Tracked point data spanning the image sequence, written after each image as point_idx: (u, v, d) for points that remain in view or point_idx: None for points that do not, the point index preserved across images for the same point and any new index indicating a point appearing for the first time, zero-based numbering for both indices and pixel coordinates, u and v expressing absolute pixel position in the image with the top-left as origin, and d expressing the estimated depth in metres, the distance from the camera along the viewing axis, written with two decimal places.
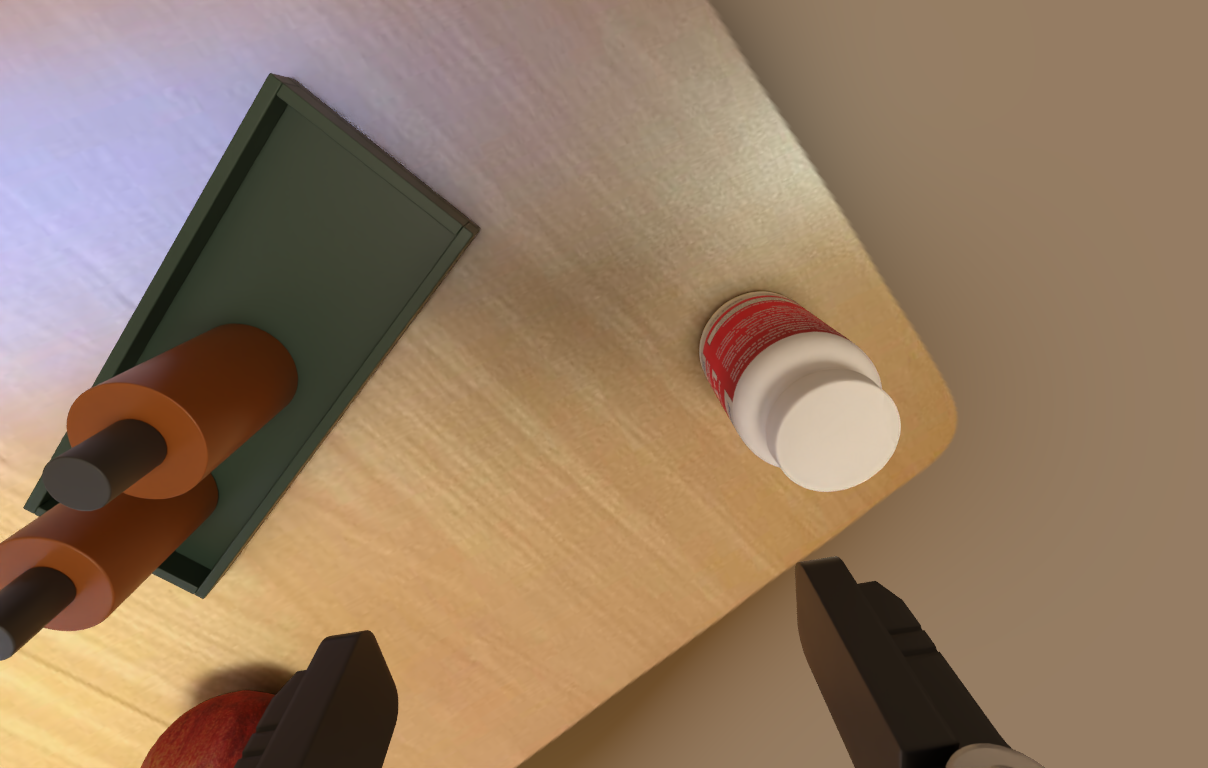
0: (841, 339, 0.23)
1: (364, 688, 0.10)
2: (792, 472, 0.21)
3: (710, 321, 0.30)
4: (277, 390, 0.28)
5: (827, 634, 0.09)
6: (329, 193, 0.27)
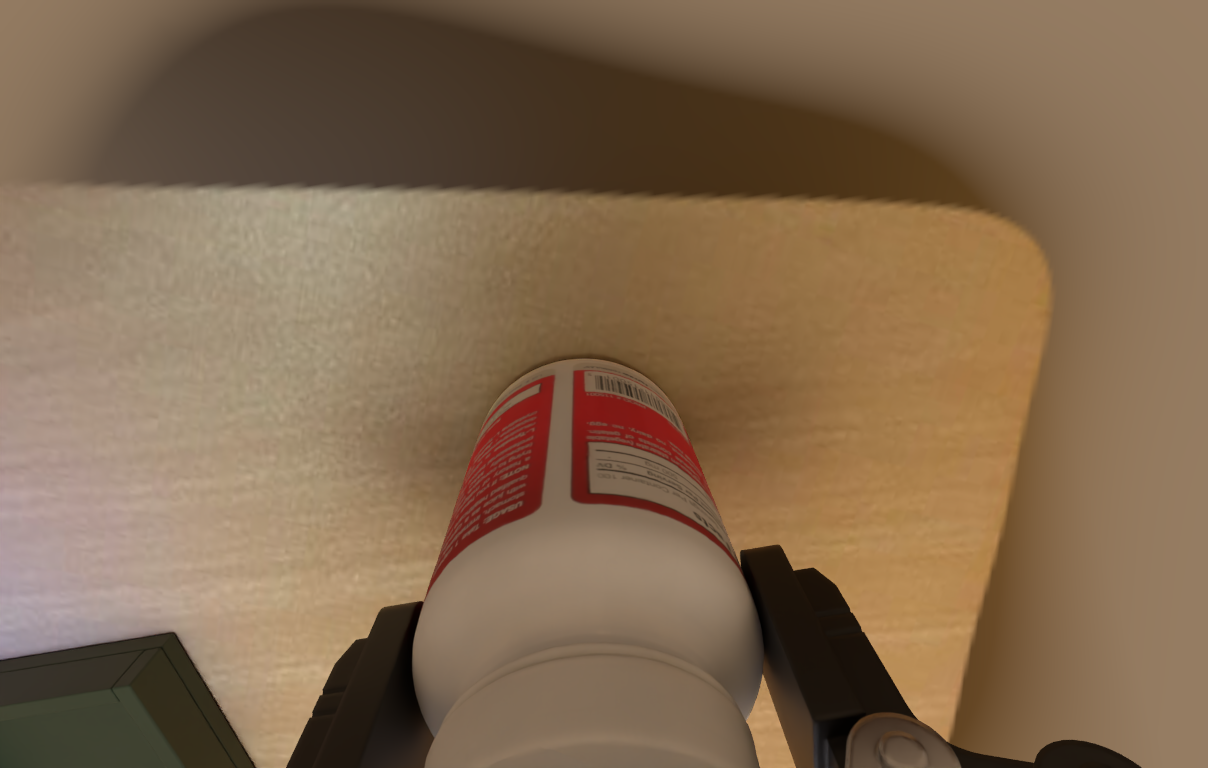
0: (487, 551, 0.09)
1: None
2: None
3: None
4: None
5: (763, 616, 0.10)
6: (28, 739, 0.20)
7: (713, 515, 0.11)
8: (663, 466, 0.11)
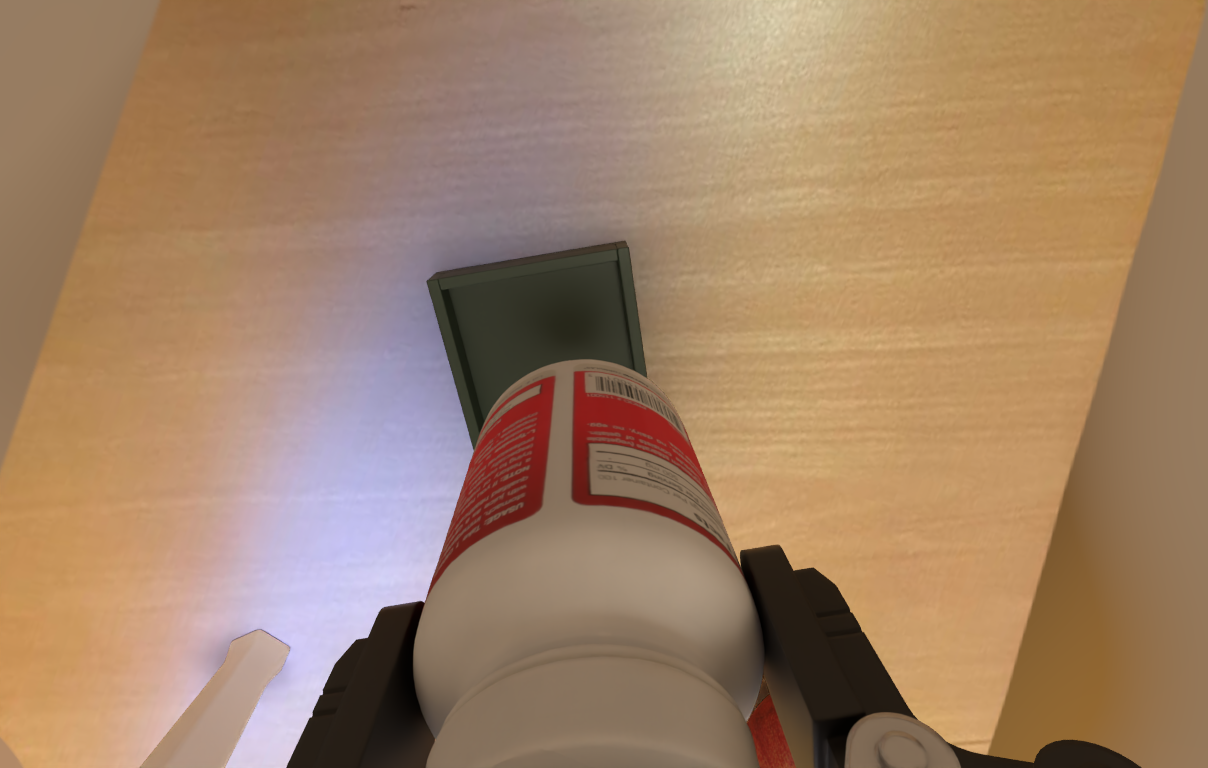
0: (488, 552, 0.09)
1: None
2: None
3: None
4: None
5: (763, 616, 0.10)
6: (518, 319, 0.31)
7: (714, 516, 0.11)
8: (663, 467, 0.11)
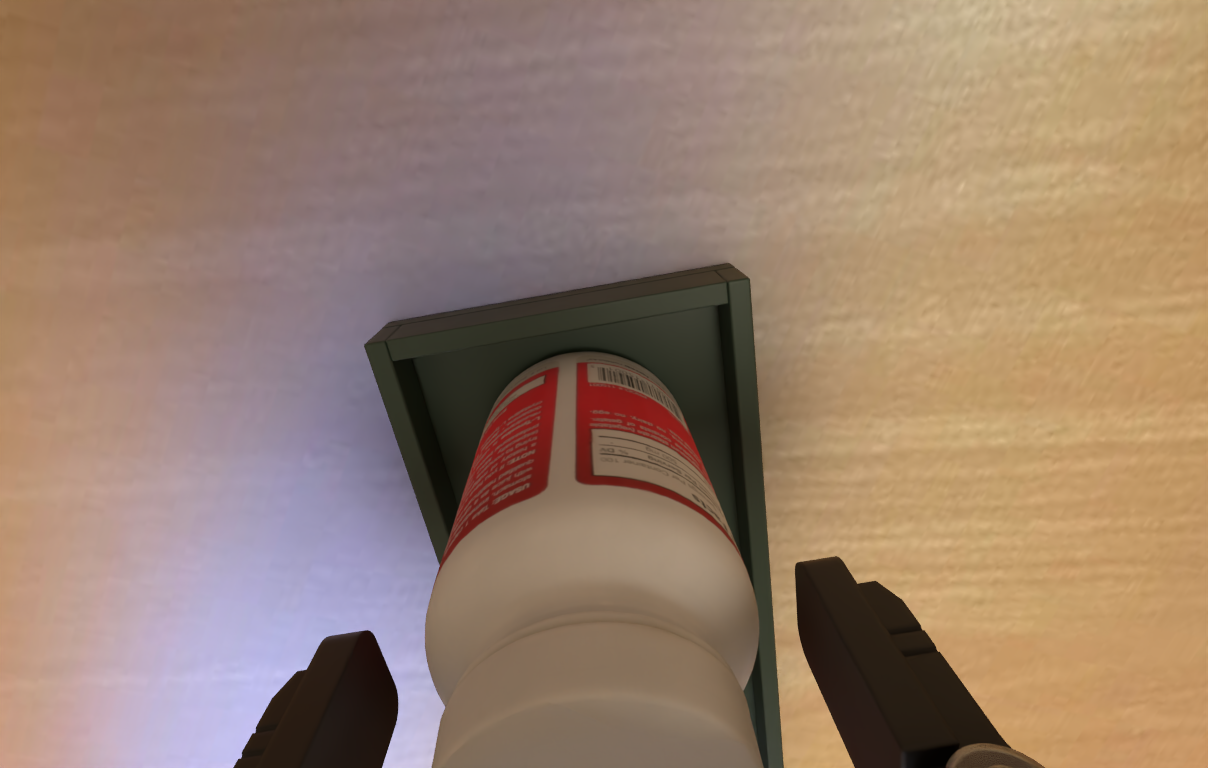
0: (496, 529, 0.09)
1: (363, 688, 0.10)
2: None
3: None
4: None
5: (827, 633, 0.09)
6: None
7: (711, 498, 0.12)
8: (663, 452, 0.12)
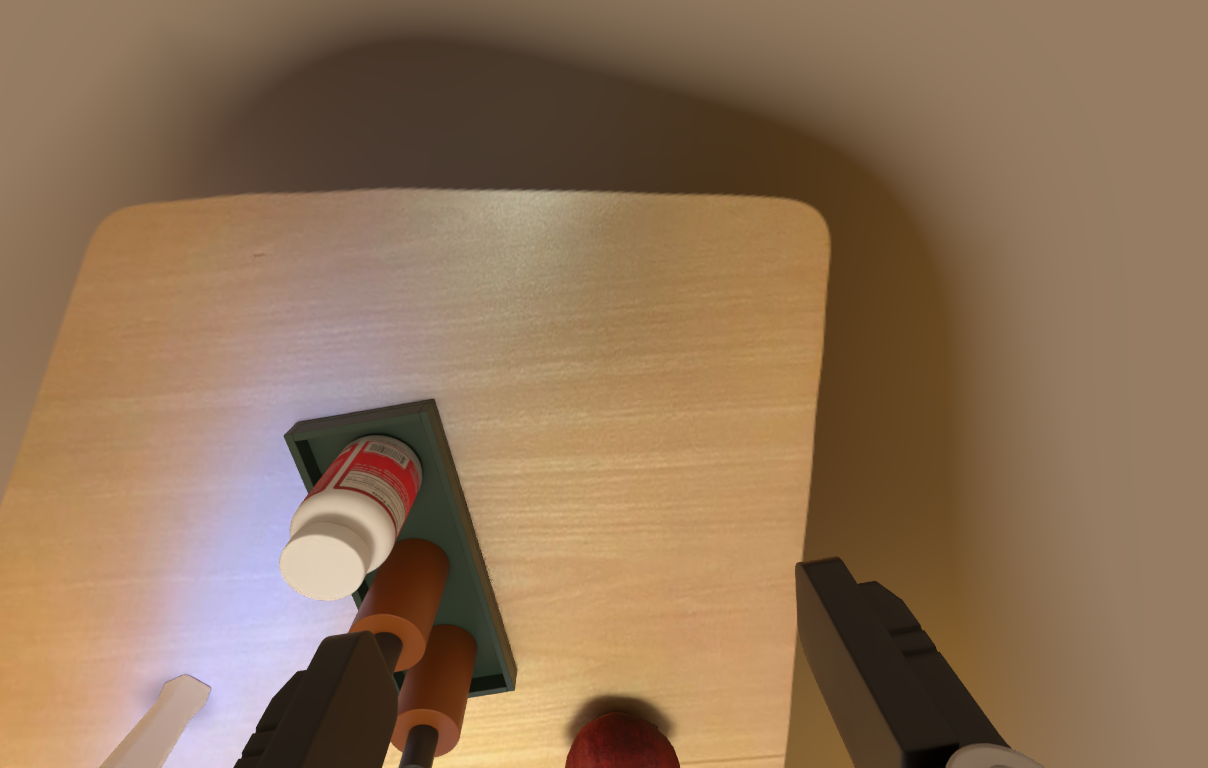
0: (307, 501, 0.34)
1: (364, 688, 0.10)
2: (329, 597, 0.33)
3: None
4: (431, 564, 0.43)
5: (828, 633, 0.09)
6: None
7: (386, 493, 0.36)
8: (372, 478, 0.36)
